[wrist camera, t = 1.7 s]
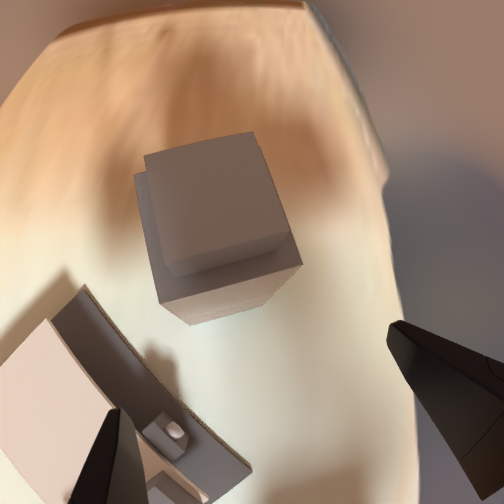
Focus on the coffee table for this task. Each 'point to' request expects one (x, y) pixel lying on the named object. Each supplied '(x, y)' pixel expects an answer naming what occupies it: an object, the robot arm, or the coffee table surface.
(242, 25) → the coffee table surface
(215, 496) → the stand
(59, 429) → the trapdoor flap
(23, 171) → the coffee table surface
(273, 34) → the coffee table surface
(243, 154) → the stone pillar
